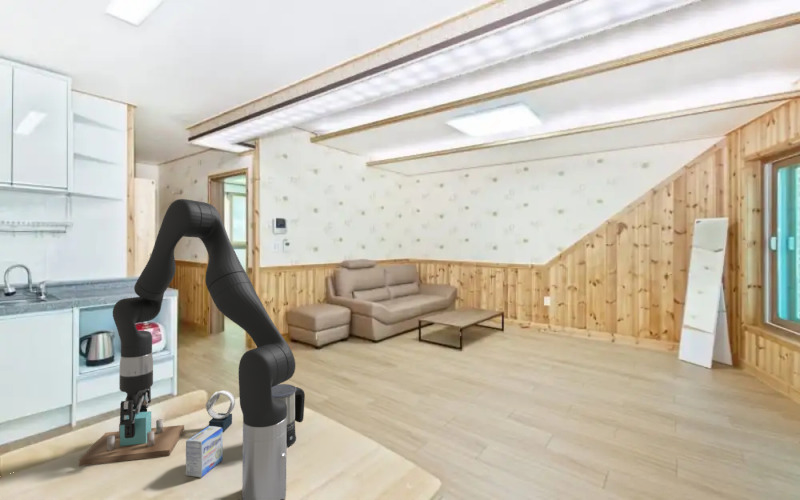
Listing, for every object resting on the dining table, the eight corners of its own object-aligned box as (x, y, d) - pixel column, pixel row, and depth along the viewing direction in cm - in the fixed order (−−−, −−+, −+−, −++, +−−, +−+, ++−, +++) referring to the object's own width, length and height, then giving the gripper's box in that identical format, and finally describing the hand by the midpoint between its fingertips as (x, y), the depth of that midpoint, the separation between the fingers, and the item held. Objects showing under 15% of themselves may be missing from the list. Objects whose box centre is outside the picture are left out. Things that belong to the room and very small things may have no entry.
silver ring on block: (211, 423, 119) (212, 387, 118) (237, 423, 118) (238, 388, 118) (202, 432, 113) (202, 394, 113) (229, 432, 113) (229, 395, 113)
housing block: (151, 436, 107) (151, 411, 107) (145, 443, 103) (145, 417, 103) (126, 438, 106) (126, 413, 106) (120, 446, 102) (120, 419, 102)
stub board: (184, 429, 114) (184, 413, 114) (169, 455, 101) (169, 436, 100) (105, 437, 109) (105, 420, 109) (78, 465, 95) (78, 446, 95)
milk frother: (286, 452, 103) (287, 397, 103) (233, 446, 106) (233, 392, 106) (308, 427, 117) (308, 379, 117) (260, 422, 120) (260, 375, 120)
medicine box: (201, 478, 91) (201, 442, 91) (185, 476, 92) (185, 440, 92) (223, 460, 99) (223, 426, 99) (207, 457, 100) (208, 425, 100)
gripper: (142, 378, 98) (142, 441, 99) (161, 361, 112) (160, 416, 112) (108, 380, 96) (108, 444, 97) (131, 363, 110) (131, 419, 110)
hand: (136, 429), depth 105 cm, fingers open, 8 cm apart
